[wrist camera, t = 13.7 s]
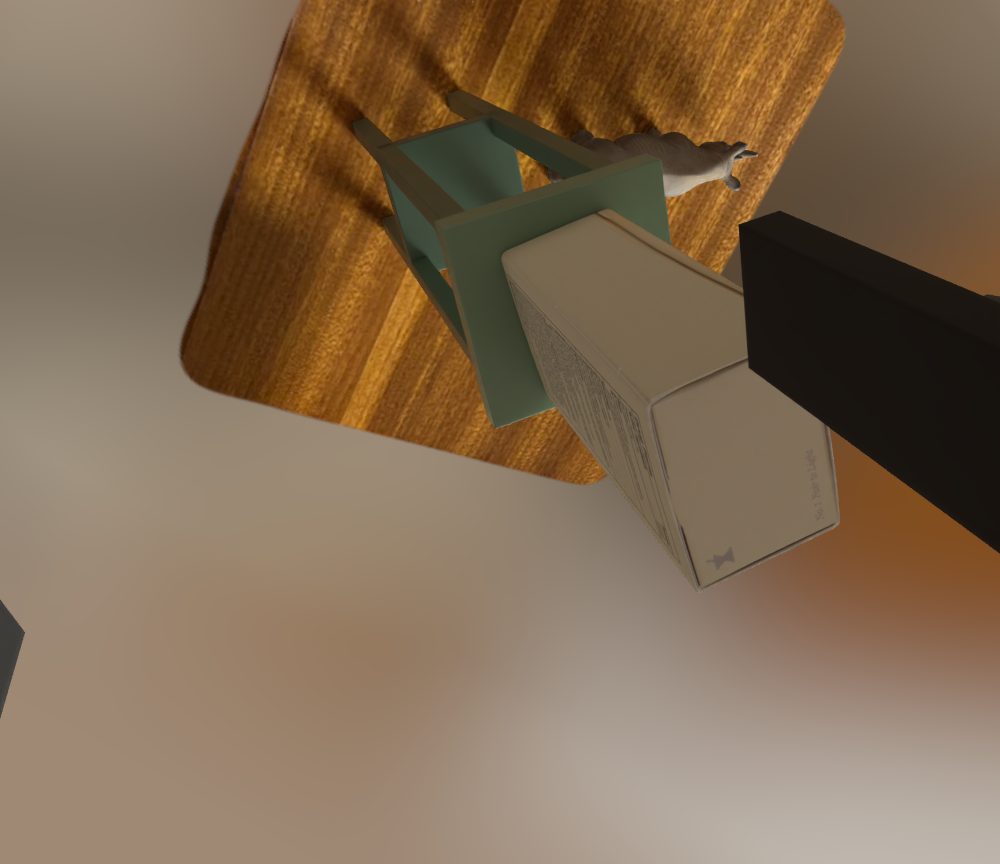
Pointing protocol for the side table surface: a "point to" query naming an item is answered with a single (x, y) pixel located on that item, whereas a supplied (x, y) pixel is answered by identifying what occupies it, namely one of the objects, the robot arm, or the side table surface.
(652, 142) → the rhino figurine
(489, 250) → the green square board
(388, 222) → the stand
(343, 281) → the side table surface
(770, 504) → the cosmetic box
